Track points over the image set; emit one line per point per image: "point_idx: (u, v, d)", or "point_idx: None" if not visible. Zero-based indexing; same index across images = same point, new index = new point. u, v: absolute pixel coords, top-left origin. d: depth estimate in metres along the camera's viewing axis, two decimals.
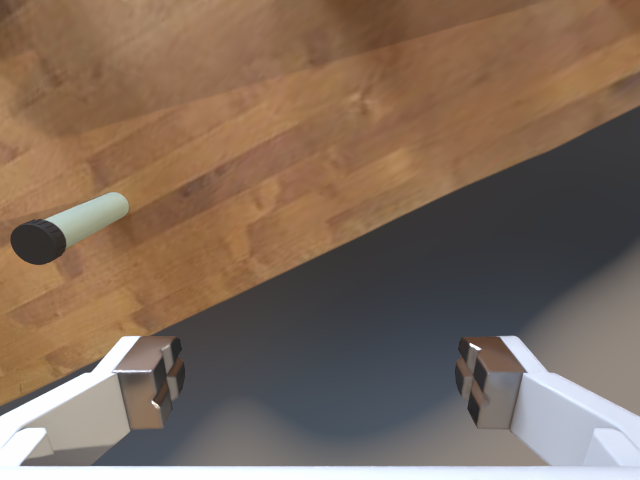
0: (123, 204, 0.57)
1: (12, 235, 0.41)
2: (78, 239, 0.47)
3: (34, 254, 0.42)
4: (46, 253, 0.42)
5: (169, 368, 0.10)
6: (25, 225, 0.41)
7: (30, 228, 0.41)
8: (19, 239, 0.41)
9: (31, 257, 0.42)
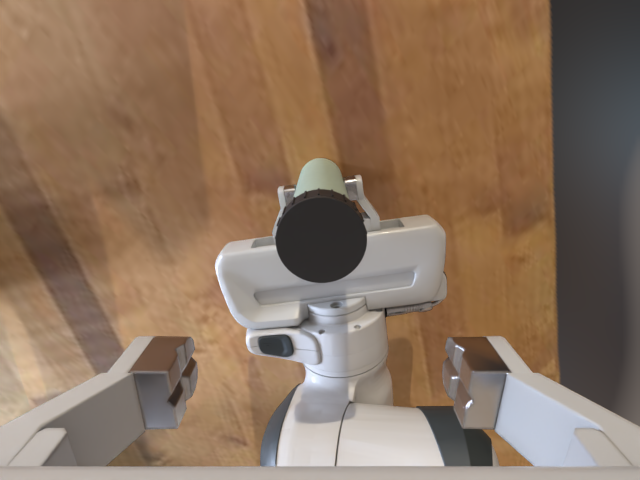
0: (320, 160, 0.34)
1: (292, 271, 0.20)
2: None
3: (341, 249, 0.20)
4: (345, 224, 0.19)
5: (183, 368, 0.10)
6: (277, 236, 0.19)
7: (285, 229, 0.19)
8: (303, 261, 0.20)
9: (346, 257, 0.20)
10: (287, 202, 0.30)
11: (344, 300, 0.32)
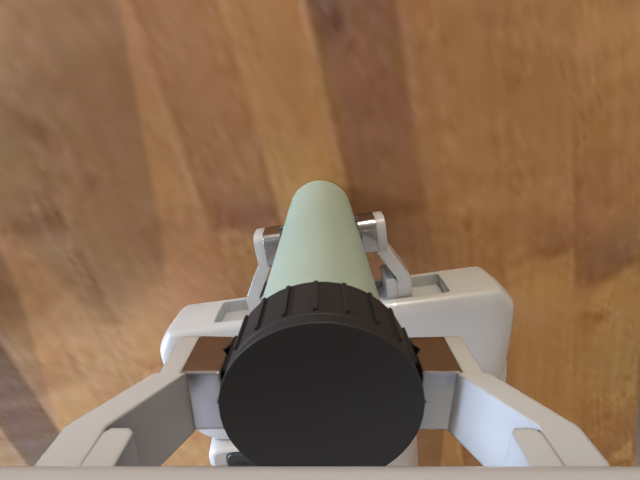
0: (320, 184, 0.24)
1: (258, 463, 0.09)
2: (364, 267, 0.13)
3: (366, 423, 0.09)
4: (378, 376, 0.08)
5: None
6: (223, 399, 0.09)
7: (240, 387, 0.08)
8: (282, 446, 0.09)
9: (376, 439, 0.09)
10: (268, 255, 0.20)
11: None
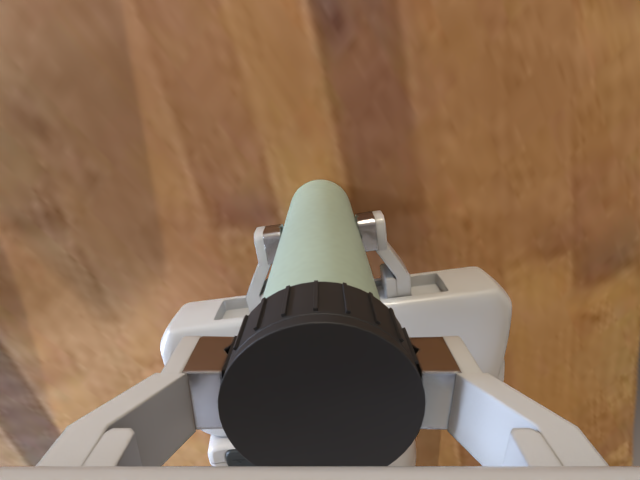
0: (320, 183, 0.24)
1: None
2: (364, 265, 0.13)
3: (355, 381, 0.08)
4: (300, 356, 0.08)
5: None
6: None
7: (267, 458, 0.09)
8: (350, 452, 0.09)
9: (380, 380, 0.08)
10: (268, 253, 0.20)
11: None
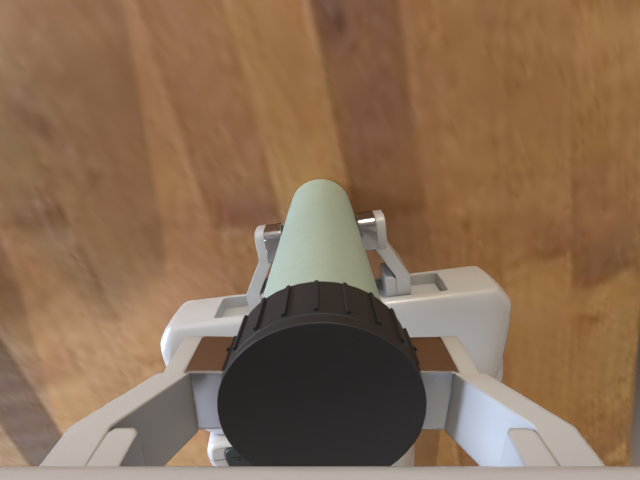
0: (321, 183, 0.24)
1: (422, 407, 0.09)
2: (364, 264, 0.13)
3: (298, 376, 0.08)
4: (251, 408, 0.09)
5: None
6: None
7: None
8: (385, 406, 0.09)
9: (304, 357, 0.08)
10: (269, 252, 0.20)
11: None
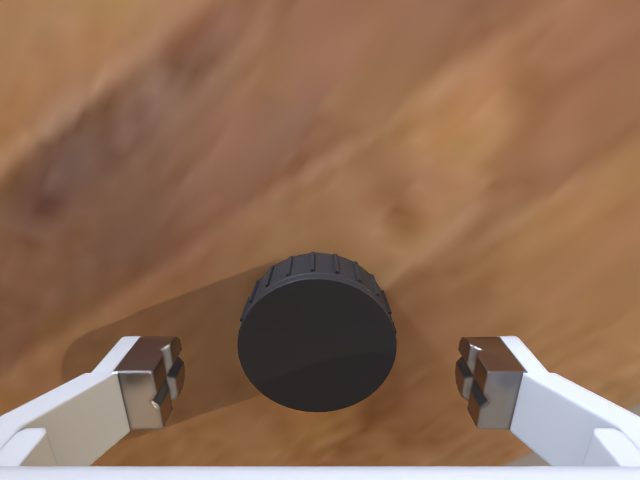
0: None
1: (393, 345, 0.11)
2: None
3: (299, 320, 0.11)
4: (264, 346, 0.11)
5: (169, 368, 0.10)
6: (362, 396, 0.12)
7: (344, 396, 0.12)
8: (365, 345, 0.11)
9: (304, 305, 0.11)
10: None
11: None
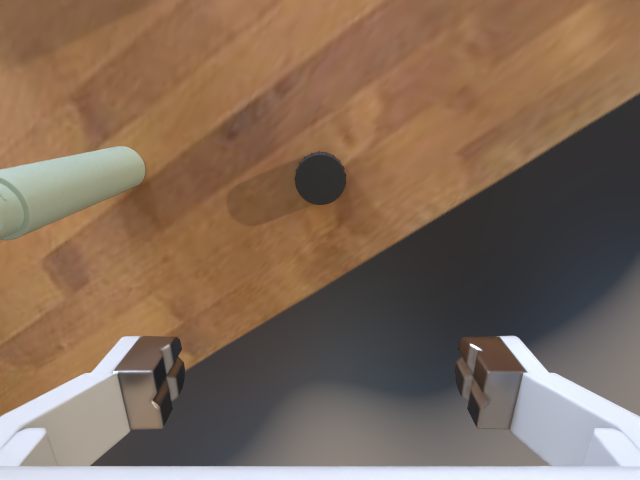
0: (136, 162, 0.36)
1: (344, 178, 0.36)
2: (61, 210, 0.25)
3: (315, 169, 0.35)
4: (303, 178, 0.36)
5: (169, 368, 0.10)
6: (335, 198, 0.36)
7: (329, 198, 0.36)
8: (335, 178, 0.36)
9: (316, 163, 0.35)
10: None
11: None
